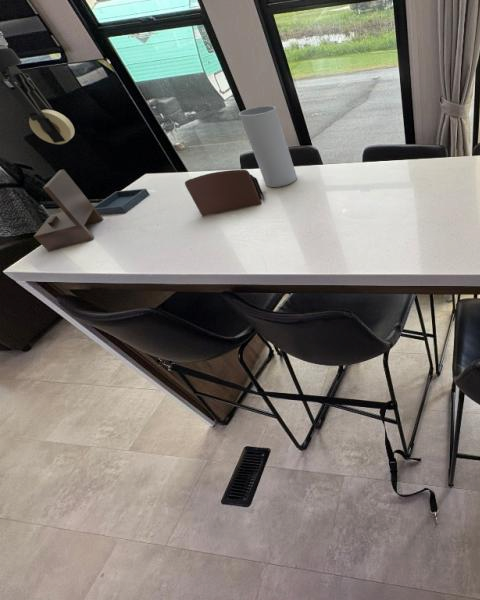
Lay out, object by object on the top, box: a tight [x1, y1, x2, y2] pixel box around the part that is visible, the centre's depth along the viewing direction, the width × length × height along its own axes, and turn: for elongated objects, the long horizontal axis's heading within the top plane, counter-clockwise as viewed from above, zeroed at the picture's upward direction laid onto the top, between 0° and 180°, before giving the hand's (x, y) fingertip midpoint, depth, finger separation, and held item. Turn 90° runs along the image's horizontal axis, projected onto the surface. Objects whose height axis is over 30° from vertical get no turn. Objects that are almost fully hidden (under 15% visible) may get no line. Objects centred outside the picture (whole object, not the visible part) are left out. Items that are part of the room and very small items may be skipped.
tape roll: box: [28, 109, 76, 145], centre depth 101 cm, size 9×5×9 cm, turn 115°
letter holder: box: [184, 169, 265, 217], centre depth 108 cm, size 10×20×14 cm, turn 106°
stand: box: [33, 169, 105, 252], centre depth 100 cm, size 12×16×19 cm
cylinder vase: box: [238, 105, 298, 188], centre depth 119 cm, size 12×12×25 cm
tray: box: [93, 188, 150, 216], centre depth 124 cm, size 16×13×2 cm
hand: (62, 139), depth 103 cm, fingers closed on tape roll, 5 cm apart
